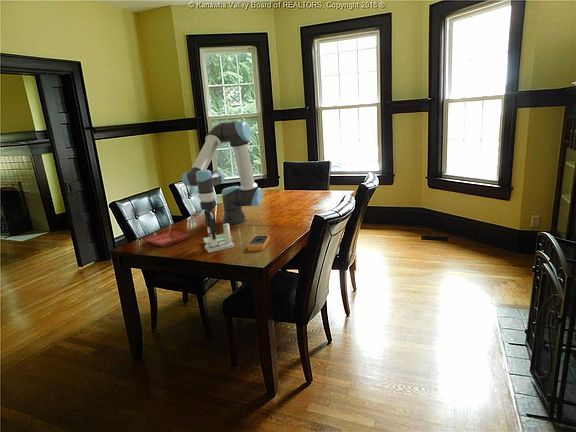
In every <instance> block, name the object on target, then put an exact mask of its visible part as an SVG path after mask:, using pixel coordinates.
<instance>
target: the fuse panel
mask: <svg viewBox="0 0 576 432" xmlns="http://www.w3.org/2000/svg"><path fill="white" fill-rule="evenodd" d="M217 244H218V247H215V248H210V245H206V244H205V245H204V249H205V250H206V251H207V253H209V254H210V253H215V252H217V251H218V252H219V251H222V250H227V249H230V248H231V249H232V248H235V243H234V241H233V242H231V243H230V244H226V243H225V241H224V242H218V243H217Z"/></svg>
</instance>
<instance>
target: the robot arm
mask: <svg viewBox="0 0 576 432" xmlns="http://www.w3.org/2000/svg"><path fill="white" fill-rule="evenodd" d="M251 139H252V131H251V128H250V126H249V124H248V123H247V122H246V121H242V120H241V121H227V122H220V123H218V124H216V125H215V126H214V127H213V128H211V129H210V130H209V132H207V134H206V136H205V140H204V141H205V142H204V144H203V146H202V148H201V149H200V152H199V153H198V155H197V157H196V158H195V160H194V162H193V164H192V167H191V168H190V170H189V171H186V172H184V173H183V174H182V175H181V181H182V183H183V185H184V186H186V187H197V190H198V195H197V197H198V198H199V202H200V203H199V205H200V209H201V210H203V213H204V214H203V215H204V221H205V226H206V230H207V231H208V229H207V227H210V231H211V233H209V234H210V235H211V242H212V246H213V245H217V238H216V235H217V231H218V230H217V225H216V215H215V214H214V213H215V212H214V211H213V209H215V208H216V207H217V205H216V201H215V192H214V187H216V186H218V185H221V184H222V183H224V181H225V174H224V172H223V171H222V170H220V169H218V170H212V171H211V170H210V169H208V167H209V165H210V163H211V162H212V159H213V157H214V155H215V153H216V151H217V149H218V148H220V147H221V146H222V144H225V143H229V147H231V148H232V149H233V153H234V158H235V162H236V166H237V172H238V176H239V182H240V185H232V186H229V187H225V188H223V189H222V191H221V199H222V205H223V216H222V223H223V224H226V223H228V224H229V226H230V225H238V224H243V223H244V222H246V219H247V218H246V215H245V214H244V211H243V208H242V207H253V208H254V207H259V206H260V205H261V203H262V201H263V193H264V192H263V189H262V188H261V187H259V186H258V183H257V182H255V178H254V173H253V168H252V163H251V158H250V153H249V148H248V147H249V146H248V145H249V144H250V141H251ZM223 224H222V225H223Z"/></svg>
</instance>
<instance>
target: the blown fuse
mask: <svg viewBox="0 0 576 432" xmlns="http://www.w3.org/2000/svg"><path fill="white" fill-rule="evenodd" d="M207 229H208V230H207ZM206 230H207V235H208V237H209V243H210V248H215V247H218V244H217V245H213V246H212V242H211V235H210V234H209V233H211V231H210V227H206ZM216 238H217V237H216Z"/></svg>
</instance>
